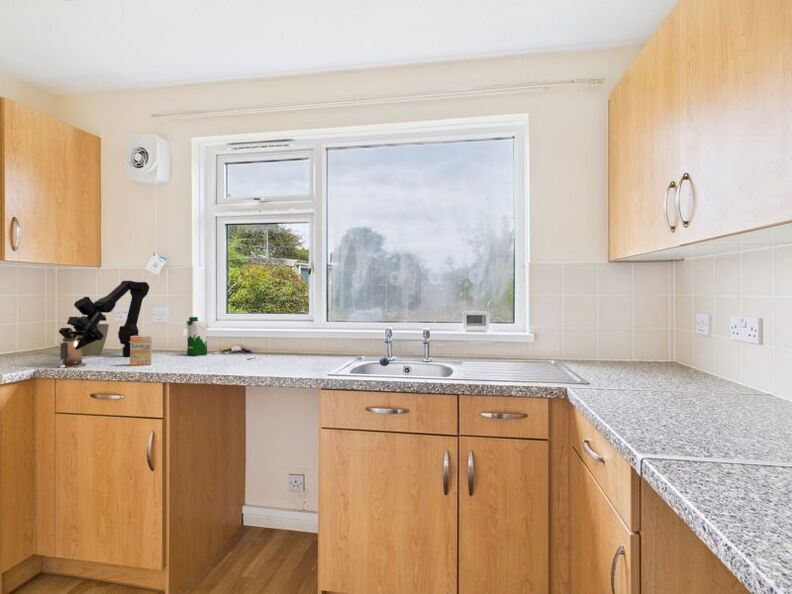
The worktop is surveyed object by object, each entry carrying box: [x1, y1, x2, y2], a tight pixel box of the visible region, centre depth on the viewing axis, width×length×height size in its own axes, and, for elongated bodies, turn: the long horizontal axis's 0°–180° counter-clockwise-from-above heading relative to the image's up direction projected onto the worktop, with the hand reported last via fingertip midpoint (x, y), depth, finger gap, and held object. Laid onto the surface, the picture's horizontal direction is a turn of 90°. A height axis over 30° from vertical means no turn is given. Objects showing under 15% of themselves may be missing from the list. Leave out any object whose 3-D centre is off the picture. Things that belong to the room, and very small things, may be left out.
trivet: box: [62, 362, 87, 368], centre depth 192 cm, size 10×10×1 cm
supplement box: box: [129, 335, 153, 367], centre depth 196 cm, size 8×5×13 cm, turn 115°
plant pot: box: [74, 323, 110, 356], centre depth 230 cm, size 15×15×16 cm
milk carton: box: [185, 316, 209, 357], centre depth 228 cm, size 9×9×20 cm
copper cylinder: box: [59, 334, 83, 365], centre depth 192 cm, size 8×7×13 cm
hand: (69, 348), depth 191 cm, fingers closed on copper cylinder, 6 cm apart
